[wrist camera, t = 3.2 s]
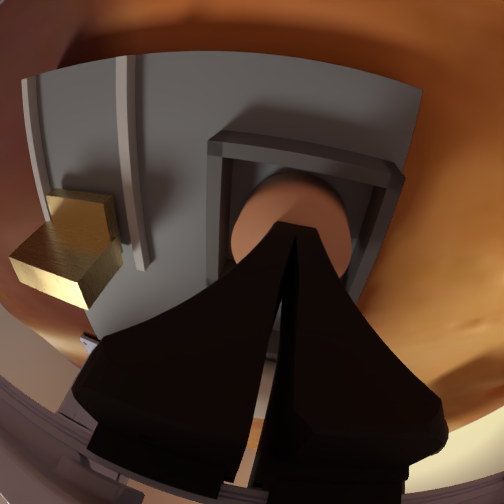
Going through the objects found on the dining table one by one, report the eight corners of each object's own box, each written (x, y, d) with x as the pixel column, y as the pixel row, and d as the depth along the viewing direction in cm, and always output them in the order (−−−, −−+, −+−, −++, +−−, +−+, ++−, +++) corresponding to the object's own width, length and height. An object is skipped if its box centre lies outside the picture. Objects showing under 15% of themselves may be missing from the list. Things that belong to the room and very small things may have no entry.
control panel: (307, 372, 21) (302, 412, 18) (108, 322, 23) (89, 352, 20) (406, 85, 9) (439, 95, 6) (55, 70, 11) (6, 84, 8)
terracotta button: (333, 270, 12) (333, 303, 11) (240, 252, 13) (228, 283, 11) (359, 184, 10) (366, 210, 8) (248, 163, 10) (234, 185, 9)
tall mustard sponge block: (131, 253, 14) (88, 310, 11) (62, 237, 14) (20, 281, 11) (121, 196, 12) (65, 249, 9) (49, 187, 12) (-3, 228, 9)
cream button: (287, 395, 17) (283, 422, 16) (227, 383, 18) (219, 410, 16) (301, 366, 15) (297, 398, 13) (229, 352, 15) (219, 382, 14)
